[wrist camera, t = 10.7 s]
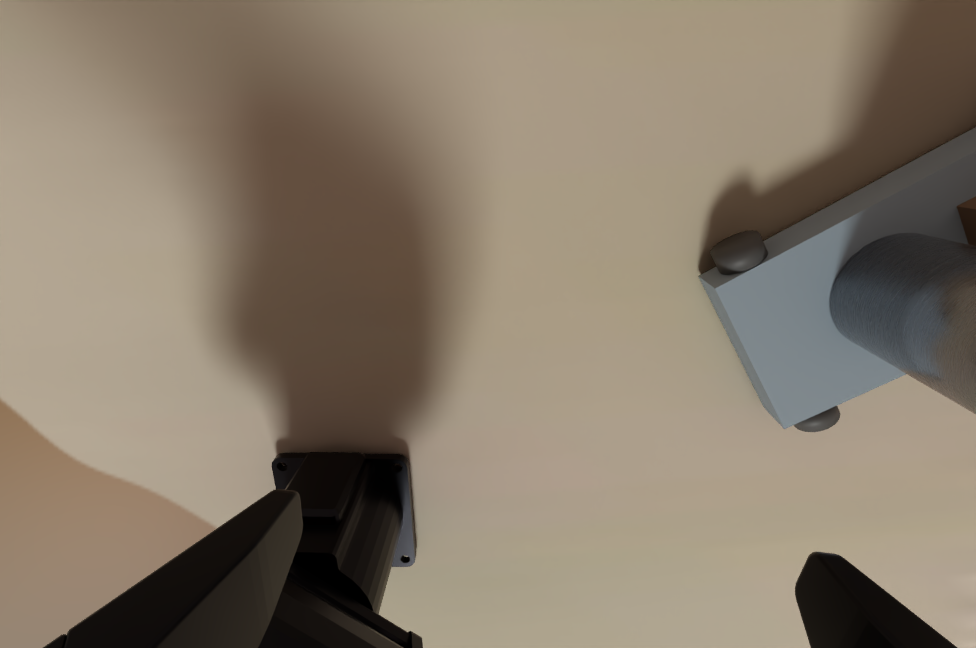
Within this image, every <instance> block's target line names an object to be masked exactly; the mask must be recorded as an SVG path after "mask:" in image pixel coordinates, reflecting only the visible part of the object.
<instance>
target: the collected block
mask: <svg viewBox="0 0 976 648" xmlns="http://www.w3.org/2000/svg"><path fill="white" fill-rule="evenodd" d="M957 209H958V212H959V216H960V219H961V222H962V225H963V228H964V231H965V234H966V238H967V241H968V244H969V245H973V246H976V196H975V197H974V198H972V199H970V200H968V201H966V202H964V203H962V204H960V205H958V206H957Z"/></svg>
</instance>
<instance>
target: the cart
mask: <svg viewBox="0 0 976 648" xmlns="http://www.w3.org/2000/svg"><path fill="white" fill-rule="evenodd" d="M975 196H976V127H975V128H973V129H971V130H969V131H967V132H966V133H964V134H962V135H960V136H958V137H956V138H954V139H953V140H951V141H949V142H947V143H945V144H943V145H941V146H940V147H938V148H936V149H934V150H932V151H930V152H928V153H927V154H925V155H923V156H921V157H919V158H917V159H915V160H914V161H912V162H910V163H908V164H906V165H904V166H902V167H900V168H899V169H897V170H895V171H893V172H891V173H889V174H887V175H886V176H884V177H882V178H880V179H878V180H876V181H874V182H873V183H871V184H869V185H867V186H865V187H863V188H861V189H860V190H858V191H856V192H854V193H852V194H850V195H848V196H847V197H845V198H843V199H841V200H839V201H837V202H835V203H833V204H832V205H830V206H828V207H826V208H824V209H822V210H820V211H819V212H817V213H815V214H813V215H811V216H809V217H807V218H806V219H804V220H802V221H800V222H798V223H796V224H794V225H793V226H791V227H789V228H787V229H785V230H783V231H781V232H780V233H778V234H776V235H774V236H772V237H770V238H768V239H766V240H765V241H763V240H762V238H761V235H760V233H759V232H758V231H745V232H741V233H738V234H735V235H733V236H730V237H728V238H726V239H724V240H723V241H721V242H719V243H718V244H717V245H716V246H714V247H713V249H712V250H711V252H710V254H711V256H712V258H713V260H714V262H715V264H716V267H714V268H713V269H711V270H709V271H707V272H705V273H703V274H701V275H700V276H699V278H700V280H701V282H702V284H703V286H704V288H705V290H706V292H707V294H708V296H709V298H710V300H711V302H712V304H713V306H714V308H715V310H716V312H717V314H718V316H719V318H720V320H721V322H722V324H723V326H724V328H725V330H726V332H727V334H728V336H729V338H730V340H731V342H732V344H733V346H734V348H735V350H736V352H737V354H738V356H739V358H740V360H741V362H742V364H743V366H744V368H745V370H746V372H747V374H748V376H749V378H750V380H751V382H752V384H753V386H754V388H755V390H756V392H757V394H758V396H759V398H760V400H761V402H762V404H763V406H764V408H765V409H766V410H767V411H768V412H769V413H770V414H771V415H772V417H773V418H774V419H775V420H776V421H777V422H778V423H779V424H780V425H781V426H782V427H783V428H784V429H786V428H788V427H790V426H792V425H794V426H795V427H796V428H797V429H799V430H802V431H805V432H818V431H822V430H826V429H828V428H830V427H832V426H833V425H835V424H836V423H837V421H838V420H839V418H840V412H839V409H838V407H837V405H839V404H841V403H843V402H846V401H848V400H850V399H852V398H854V397H857V396H859V395H861V394H863V393H866V392H868V391H870V390H872V389H874V388H877V387H879V386H881V385H883V384H886V383H888V382H890V381H892V380H894V379H897V378H899V377H901V376H903V375H905V374H906V373H904V372H902V371H901V370H899V369H897V368H896V367H894V366H892V365H890V364H889V363H887V362H885V361H884V360H882V359H880V358H878V357H877V356H875V355H873V354H872V353H870V352H868V351H866V350H865V349H863V348H861V347H860V346H858V345H856V344H854V343H853V342H851V341H850V340H848V339H847V338H845V337H844V336H843V335H842V334H841V333H840V332H839V331H838V329H837V328H836V326H835V325H834V323H833V320H832V317H831V314H830V302H829V301H830V294H831V290H832V286H833V284H834V281H835V279H836V277H837V275H838V273H839V272H840V270H841V269H842V267H843V266H844V265H845V263H846V262H847V261H848V260H849V259H850V258H851V257H852V256H853V255H854V254H855V253H856V252H858V251H859V250H860V249H862V248H863V247H864V246H866V245H868V244H869V243H871V242H873V241H875V240H877V239H880V238H882V237H885V236H888V235H892V234H897V233H918V234H923V235H928V236H932V237H937V238H941V239H946V240H950V241H955V242H959V243H964V244H968V241H967V238H966V234H965V231H964V228H963V225H962V222H961V219H960V216H959V212H958V209H957V206H958V205H960V204H962V203H964V202H966V201H968V200H970V199H972V198H974V197H975ZM968 245H969V244H968Z"/></svg>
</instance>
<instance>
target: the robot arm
mask: <svg viewBox="0 0 976 648" xmlns="http://www.w3.org/2000/svg"><path fill="white" fill-rule="evenodd" d="M281 462H283V463H285V464H286V465H287V466H283V465H282V464H281ZM396 463H397V464H400V465H401V466H402V467H396V466H394V464H396ZM272 470H273V476H274V481H275V486H276V489H275V490H273V491H271V492H270V493H268V494H267V495H265V496H264V497H262V498H261V499H259V500H258V501H256V502H255V503H254V504H252V505H251V506H249V507H248V508H246V509H245V510H243V511H242V512H240V513H239V514H237V515H236V516H235V517H233V518H232V519H230V520H229V521H227V522H226V523H224V524H223V525H221V526H220V527H218V528H217V529H216V530H214V531H213V532H211V533H210V534H208V535H207V536H206V537H204V538H203V539H201V540H200V541H198V542H197V543H195V544H194V545H192V546H191V547H189V548H188V549H186V550H185V551H184V552H182V553H181V554H179V555H178V556H176V557H175V558H173V559H172V560H170V561H169V562H167V563H166V564H164V565H163V566H162V567H160V568H159V569H157V570H156V571H154V572H153V573H151V574H150V575H148V576H147V577H146V578H144V579H143V580H141V581H140V582H138V583H137V584H135V585H134V586H132V587H131V588H129V589H128V590H127V591H125V592H124V593H122V594H121V595H119V596H118V597H116V598H115V599H113V600H112V601H111V602H109V603H108V604H106V605H105V606H103V607H102V608H100V609H99V610H97V611H96V612H94V613H93V614H92V615H90V616H89V617H87V618H86V619H84V620H83V621H81V622H80V623H78V624H77V625H75V626H74V627H73V628H71V629H70V630H69V631H68V633H67V635H66V634H63V635H61V636H59V637H58V638H56V639H55V640H53V641H52V642H51V643H49V644H47V645H46V646H45V647H43V648H423V645H422V638H421V637H420V636H418V635H417V634H415V633H413V632H412V631H409V632H406V631H405V630H403V629H401V628H400V627H398V626H396V625H395V624H393V623H392V622H390V621H388V620H387V619H385V618H383V617H382V616H380V615H378V614H379V610H380V607H381V603H382V599H383V596H384V592H385V588H386V585H387V581H388V577H389V574H390V570H391V567H408V566H411V565H413V563H414V562H415V558H416V544H415V531H414V519H413V507H412V494H411V482H410V470H409V462H408V459H407V458H406V457H405V456H403V455H400V454H362V453H348V452H310V453H280V454H279V455H277V456H276V458H275V459H274V461H273V462H272ZM403 555H406V556H408V557H404V556H403ZM795 595H796V600H797V604H798V607H799V610H800V613H801V617H802V620H803V623H804V627H805V630H806V633H807V636H808V640H809V643H810V646H811V648H957V647H956V646H955V645H953V644H952V643H951V642H950V641H948V640H947V639H946V638H944V637H943V636H942V635H941V634H939V633H938V632H937V631H936V630H934V629H933V628H932V627H930V626H929V625H928V624H927V623H925V622H924V621H923V620H922V619H920V618H919V617H918V616H917V615H915V614H914V613H913V612H911V611H910V610H909V609H908V608H906V607H905V606H904V605H903V604H901V603H900V602H899V601H898V600H896V599H895V598H894V597H892V596H891V595H890V594H889V593H887V592H886V591H885V590H884V589H882V588H881V587H880V586H878V585H877V584H876V583H875V582H873V581H872V580H871V579H870V578H868V577H867V576H866V575H865V574H863V573H862V572H861V571H859V570H858V569H857V568H856V567H854V566H853V565H852V564H851V563H849V562H848V561H847V560H846V559H844V558H843V557H841V556H839V555H837V554H832V553H823V552H813V553H812V554H810V555H809V557H808V558H807V561H806V563H805V565H804V567H803V569H802V571H801V574H800V576H799V578H798V580H797V582H796V586H795Z"/></svg>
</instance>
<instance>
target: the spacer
mask: <svg viewBox="0 0 976 648" xmlns="http://www.w3.org/2000/svg"><path fill="white" fill-rule="evenodd" d="M829 302H830V314H831V317H832V320H833V323H834V325H835V326H836V328H837V329H838V331H839V332H840V333H841V334H842V335H843V336H844V337H845V338H847V339H848V340H850V341H851V342H853V343H854V344H856V345H858V346H860V347H861V348H863V349H865V350H866V351H868V352H870V353H872V354H873V355H875V356H877V357H878V358H880V359H882V360H884V361H885V362H887V363H889V364H890V365H892V366H894V367H896V368H897V369H899V370H901V371H902V372H904V373H906V374H908V375H909V376H911V377H913V378H914V379H916V380H918V381H920V382H921V383H923V384H925V385H926V386H928V387H930V388H932V389H933V390H935V391H937V392H938V393H940V394H942V395H944V396H945V397H947V398H949V399H950V400H952V401H954V402H956V403H957V404H959V405H961V406H962V407H964V408H966V409H968V410H969V411H971V412H973V413H974V414H976V246H973V245H968V244H964V243H959V242H955V241H950V240H946V239H941V238H937V237H932V236H928V235H923V234H918V233H897V234H892V235H888V236H885V237H882V238H880V239H877V240H875V241H873V242H871V243H869V244H868V245H866V246H864V247H863V248H862V249H860V250H859V251H858V252H856V253H855V254H854V255H853V256H852V257H851V258H850V259H849V260H848V261H847V262H846V263H845V265H844V266H843V267H842V269H841V270H840V272H839V273H838V275H837V277H836V279H835V281H834V284H833V286H832V290H831V294H830V301H829Z"/></svg>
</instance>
